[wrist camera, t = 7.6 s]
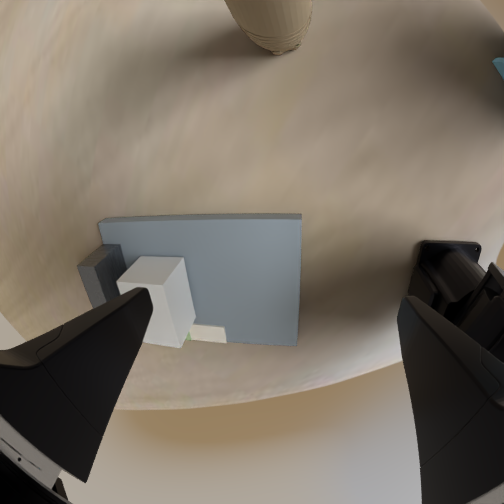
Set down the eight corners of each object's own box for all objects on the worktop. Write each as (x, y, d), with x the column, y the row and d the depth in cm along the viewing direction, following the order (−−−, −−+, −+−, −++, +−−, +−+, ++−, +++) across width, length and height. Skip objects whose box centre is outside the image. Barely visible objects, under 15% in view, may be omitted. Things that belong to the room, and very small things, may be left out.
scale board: (301, 213, 20) (301, 221, 19) (297, 337, 25) (296, 348, 24) (105, 218, 23) (95, 224, 21) (137, 322, 28) (130, 331, 27)
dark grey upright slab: (120, 244, 22) (94, 266, 19) (142, 317, 26) (124, 344, 22) (103, 244, 23) (76, 265, 19) (126, 314, 26) (107, 340, 23)
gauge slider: (183, 257, 22) (162, 285, 18) (201, 340, 26) (188, 371, 22) (140, 256, 22) (116, 281, 19) (164, 335, 26) (148, 363, 23)
